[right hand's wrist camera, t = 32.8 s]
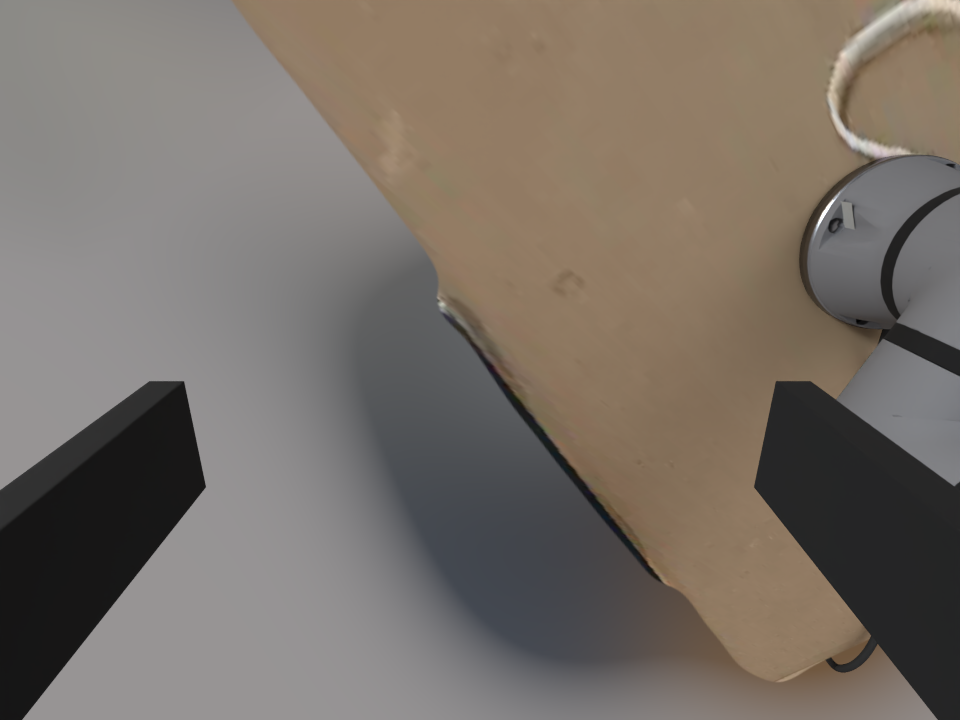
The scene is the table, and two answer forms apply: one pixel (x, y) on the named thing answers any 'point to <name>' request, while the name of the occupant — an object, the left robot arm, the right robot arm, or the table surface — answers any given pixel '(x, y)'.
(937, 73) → the table surface
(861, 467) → the right robot arm
